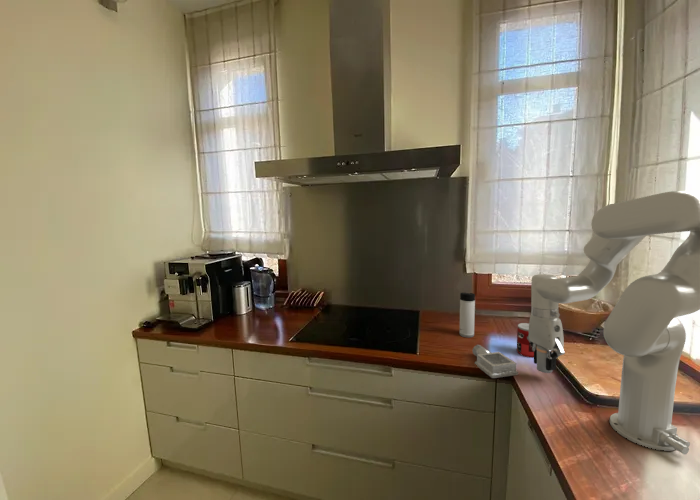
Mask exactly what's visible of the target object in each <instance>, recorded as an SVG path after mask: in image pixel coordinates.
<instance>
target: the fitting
mask: <svg viewBox="0 0 700 500" xmlns="http://www.w3.org/2000/svg"><path fill="white" fill-rule="evenodd" d="M472 354H473V355H474V356H475V357H476V361H475V362H474V365H475V364H476V365H477V368H479V369H480V370H481V371H482V372H484V373H485V374H486V375H487V376H489V377H490V379H497V378H498V379H499V378H503V377H504V378H505V377H514V376H518V375H519V371H518V370H517V362H516V361H513V360H512V359H511V358H509V357H508V356H506V355H505V354H503V353H501V352H500V351H495V352H493V351H492V352H491V351H490V350H488V349H486V348H485V347H484V346H482V345H481V344H476V345H474V346H473V347H472ZM476 365H475V366H476Z"/></svg>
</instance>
